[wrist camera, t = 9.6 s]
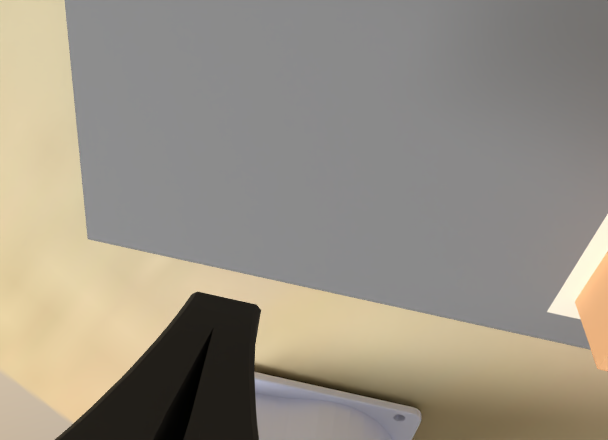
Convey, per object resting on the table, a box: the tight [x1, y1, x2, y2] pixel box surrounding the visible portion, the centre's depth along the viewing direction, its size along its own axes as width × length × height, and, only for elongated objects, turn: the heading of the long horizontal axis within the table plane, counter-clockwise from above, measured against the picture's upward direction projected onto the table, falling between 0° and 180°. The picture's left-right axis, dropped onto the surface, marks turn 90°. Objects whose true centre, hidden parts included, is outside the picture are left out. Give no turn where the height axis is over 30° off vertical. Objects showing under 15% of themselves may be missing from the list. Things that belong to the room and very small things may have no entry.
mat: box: [65, 0, 608, 350], centre depth 17 cm, size 31×14×1 cm, turn 81°
